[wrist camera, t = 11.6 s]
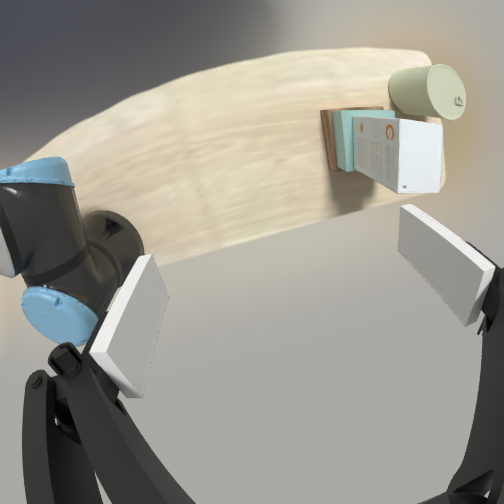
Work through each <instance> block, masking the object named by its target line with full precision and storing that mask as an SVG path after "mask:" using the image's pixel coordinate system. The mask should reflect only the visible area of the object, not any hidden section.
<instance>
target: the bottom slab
mask: <svg viewBox="0 0 504 504" xmlns="http://www.w3.org/2000/svg"><path fill="white" fill-rule="evenodd" d="M344 110H384V109H383V107H355V108H340V109H329V110H320V111H321V116H322V122H323V128H324V134H325V141H326V148H327V155H328V162H329V168H331V169H333V170H334V171H336V172H338V171H344V170H342V169H341V168H339V167H337V156H336V145H335V135H334V126H333V118H332V111H344Z"/></svg>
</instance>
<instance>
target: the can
mask: <svg viewBox="0 0 504 504" xmlns="http://www.w3.org/2000/svg"><path fill="white" fill-rule="evenodd" d="M388 88H389V94H390V97H391V100H392V102H393V103H394V105H395V106H396V107H397V108H398V109H399V110H400V111H401V112H403V113H404V114H407V115H421V116H429V117H436V118H442V119H446V120H456V119H458V118H459V117H460V116H461V115H462V114H463V112H464V109H465V106H466V93H465V89H464V86H463V83H462V81H461V79H460V78H459V76H458V75H457V73H456V72H455V71H454V70H453V69H451V68H450V67H448V66H446V65H443V64H437V65H433V66H425V67H417V68H410V69H399V70H396V71H395V72H394V73H393V74H392V75H391V77H390V79H389V85H388Z"/></svg>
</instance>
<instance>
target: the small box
mask: <svg viewBox="0 0 504 504" xmlns="http://www.w3.org/2000/svg"><path fill="white" fill-rule="evenodd" d="M353 140H354V169H355V170H357V171H359V172H361V173H363V174H364V175H366V176H368V177H370V178H371V179H373V180H375V181H377V182H379V183H380V184H382V185H384V186H385V187H387V188H389V189H390V190H392V191H394V192H395V193H397V194H407V193H439V191H440V180H441V167H442V148H443V126H442V125H438V124H433V123H427V122H421V121H414V120H407V119H397V118H385V117H371V116H353Z"/></svg>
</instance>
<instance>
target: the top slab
mask: <svg viewBox="0 0 504 504" xmlns="http://www.w3.org/2000/svg"><path fill="white" fill-rule="evenodd" d="M353 116H371V117H385V118H395V111H389V110H344V111H332V118H333V126H334V135H335V145H336V156H337V167H339V168H341V169H342V170H344V171H346V172H350V171H357V170H355V169H354V140H353Z"/></svg>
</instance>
